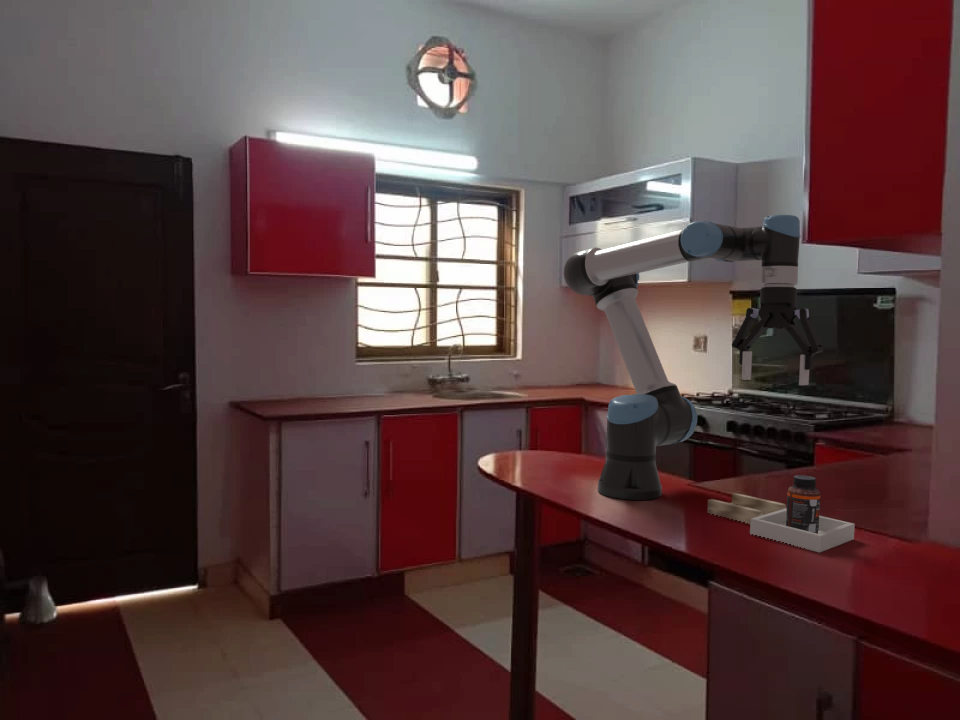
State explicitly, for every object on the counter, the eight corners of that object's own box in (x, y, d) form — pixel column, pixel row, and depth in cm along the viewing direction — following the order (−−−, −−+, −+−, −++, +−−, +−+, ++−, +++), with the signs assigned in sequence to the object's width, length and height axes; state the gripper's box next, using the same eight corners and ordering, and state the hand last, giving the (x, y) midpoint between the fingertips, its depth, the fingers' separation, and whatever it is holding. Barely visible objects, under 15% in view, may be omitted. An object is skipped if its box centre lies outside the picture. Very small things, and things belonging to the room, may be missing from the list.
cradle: (707, 513, 162) (707, 499, 162) (735, 506, 169) (735, 493, 169) (758, 526, 153) (758, 512, 153) (785, 517, 160) (785, 504, 160)
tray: (749, 534, 148) (750, 518, 147) (785, 522, 156) (786, 508, 156) (819, 552, 137) (820, 536, 137) (853, 539, 146) (854, 523, 145)
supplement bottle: (821, 539, 143) (825, 481, 142) (789, 536, 144) (792, 479, 143) (814, 530, 149) (817, 474, 148) (782, 528, 150) (785, 473, 149)
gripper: (719, 286, 171) (715, 378, 172) (826, 284, 152) (821, 388, 153) (737, 287, 176) (733, 377, 177) (843, 286, 157) (838, 386, 158)
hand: (774, 382), depth 165 cm, fingers open, 13 cm apart
